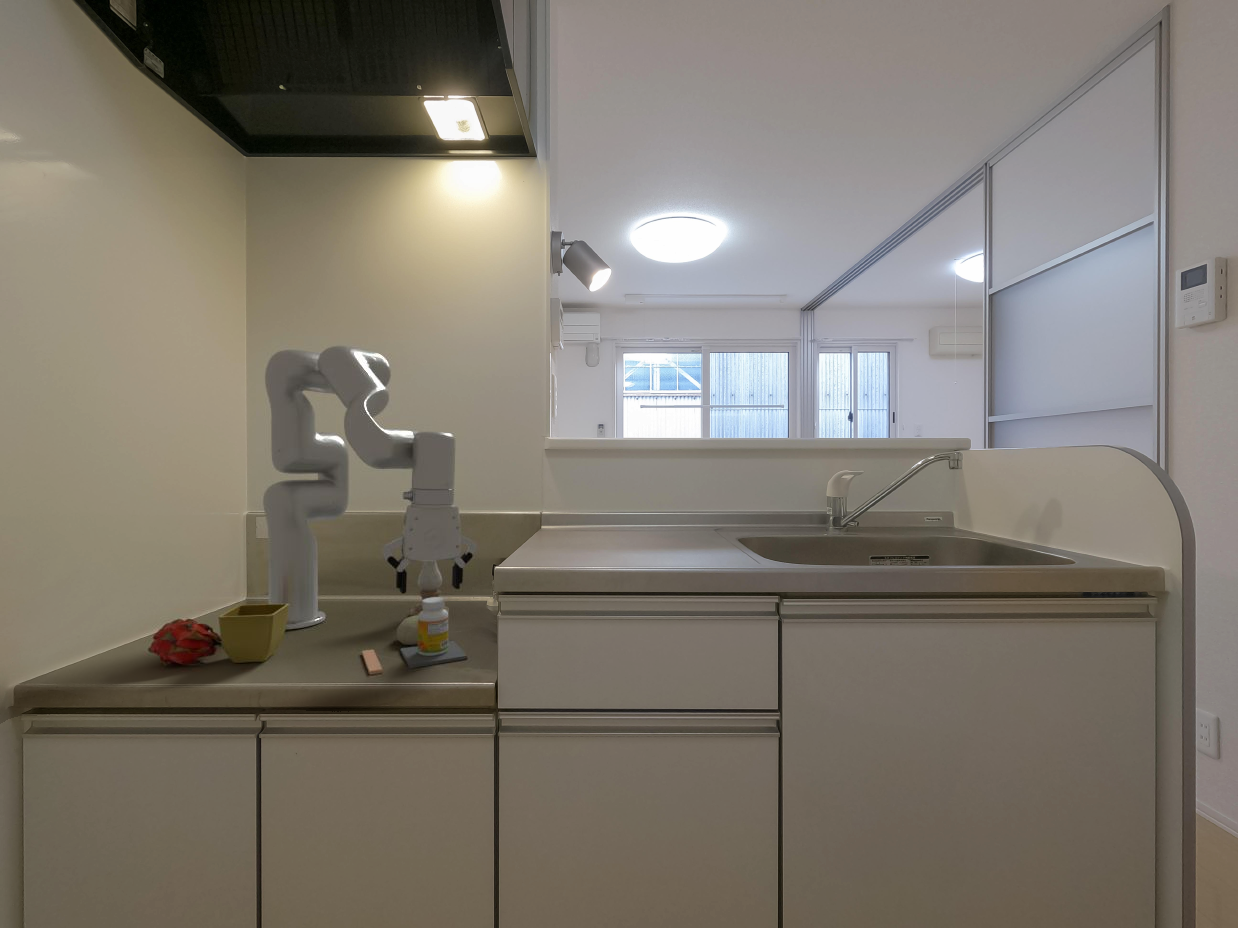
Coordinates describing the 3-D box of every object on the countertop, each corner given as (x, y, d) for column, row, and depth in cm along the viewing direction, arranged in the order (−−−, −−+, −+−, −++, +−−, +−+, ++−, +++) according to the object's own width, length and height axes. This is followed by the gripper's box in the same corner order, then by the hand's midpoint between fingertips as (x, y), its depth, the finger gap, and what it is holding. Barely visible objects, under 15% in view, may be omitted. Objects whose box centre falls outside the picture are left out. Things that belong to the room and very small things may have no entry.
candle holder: (430, 621, 132) (430, 531, 132) (401, 616, 136) (401, 528, 135) (457, 612, 140) (457, 527, 140) (429, 607, 143) (429, 525, 143)
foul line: (361, 653, 109) (361, 650, 109) (373, 652, 110) (373, 649, 110) (369, 674, 99) (369, 671, 99) (382, 672, 100) (382, 669, 100)
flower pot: (290, 649, 112) (290, 602, 112) (272, 665, 103) (272, 614, 103) (239, 652, 110) (239, 604, 110) (217, 668, 102) (217, 616, 101)
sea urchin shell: (434, 639, 112) (407, 608, 113) (408, 666, 113) (381, 635, 114) (456, 626, 121) (431, 597, 122) (432, 651, 122) (407, 622, 123)
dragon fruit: (154, 668, 106) (216, 680, 105) (123, 653, 99) (189, 666, 98) (182, 623, 111) (242, 634, 110) (154, 606, 104) (218, 618, 103)
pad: (400, 651, 111) (400, 648, 111) (453, 643, 116) (453, 640, 116) (409, 668, 102) (409, 664, 102) (467, 658, 107) (467, 655, 107)
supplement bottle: (416, 648, 110) (416, 597, 110) (446, 645, 112) (446, 595, 112) (419, 658, 105) (419, 604, 105) (450, 654, 107) (450, 601, 107)
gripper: (385, 500, 101) (382, 598, 102) (484, 499, 110) (481, 590, 110) (380, 496, 108) (377, 588, 108) (473, 496, 116) (470, 581, 117)
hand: (429, 589), depth 109 cm, fingers open, 9 cm apart
